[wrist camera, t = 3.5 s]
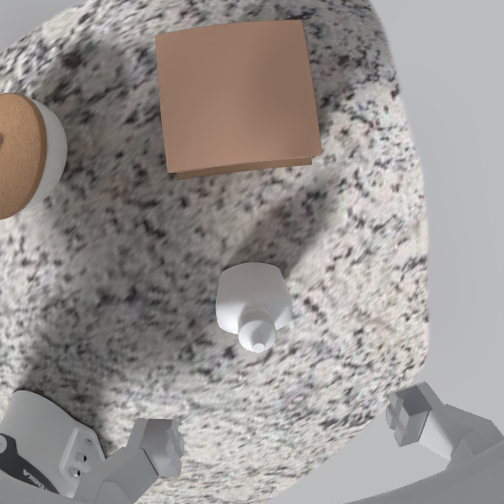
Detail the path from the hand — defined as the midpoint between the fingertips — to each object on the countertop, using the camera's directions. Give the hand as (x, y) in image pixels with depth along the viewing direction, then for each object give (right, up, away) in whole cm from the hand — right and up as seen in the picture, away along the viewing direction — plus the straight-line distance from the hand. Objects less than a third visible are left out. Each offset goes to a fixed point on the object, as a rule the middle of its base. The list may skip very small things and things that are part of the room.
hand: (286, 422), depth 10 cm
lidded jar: (-22, +16, +15) cm, 31 cm away
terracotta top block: (-2, +17, +11) cm, 20 cm away
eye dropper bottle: (-1, +4, +19) cm, 20 cm away
